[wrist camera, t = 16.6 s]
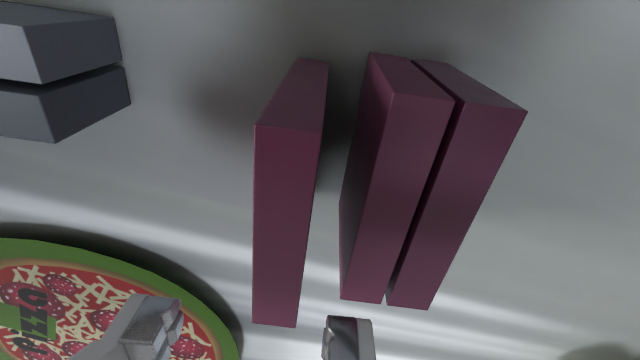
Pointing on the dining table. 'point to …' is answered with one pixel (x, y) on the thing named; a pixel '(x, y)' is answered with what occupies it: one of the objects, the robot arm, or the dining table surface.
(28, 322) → the pizza
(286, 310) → the plum book
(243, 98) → the dining table surface
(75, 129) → the grey books
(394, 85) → the thin books
